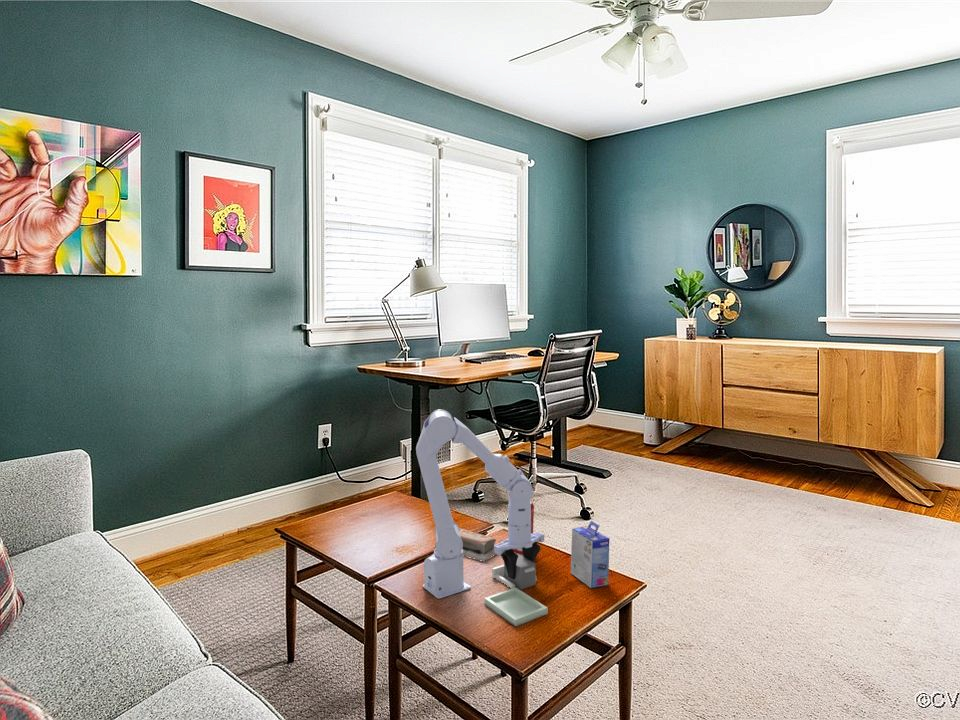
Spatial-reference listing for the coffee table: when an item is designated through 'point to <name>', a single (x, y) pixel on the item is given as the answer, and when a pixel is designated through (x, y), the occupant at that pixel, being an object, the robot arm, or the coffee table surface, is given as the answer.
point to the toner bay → (498, 573)
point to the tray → (515, 606)
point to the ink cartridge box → (590, 556)
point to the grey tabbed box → (523, 573)
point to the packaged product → (476, 545)
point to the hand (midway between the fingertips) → (519, 574)
